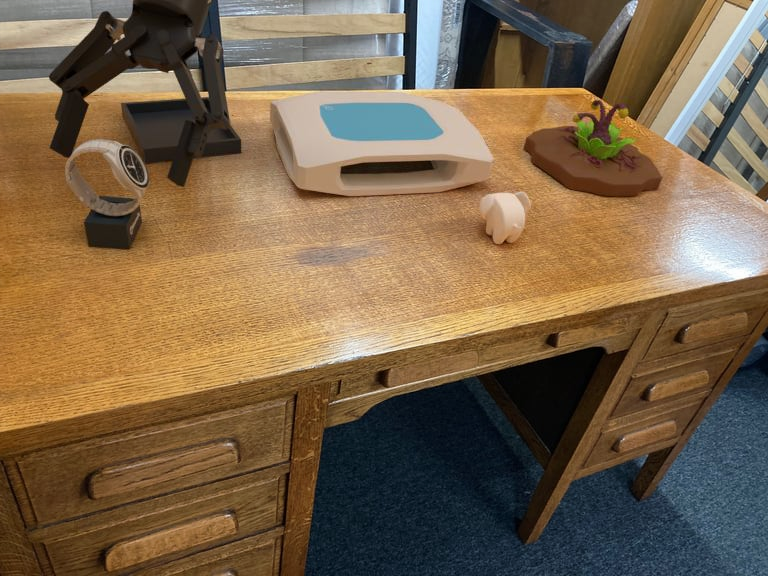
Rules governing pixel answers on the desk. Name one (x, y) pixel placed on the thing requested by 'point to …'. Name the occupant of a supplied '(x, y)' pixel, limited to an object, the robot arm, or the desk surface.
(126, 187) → the watch
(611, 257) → the desk surface
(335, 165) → the document scanner
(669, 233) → the desk surface
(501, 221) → the elephant figurine
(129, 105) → the tray
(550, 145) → the plant
